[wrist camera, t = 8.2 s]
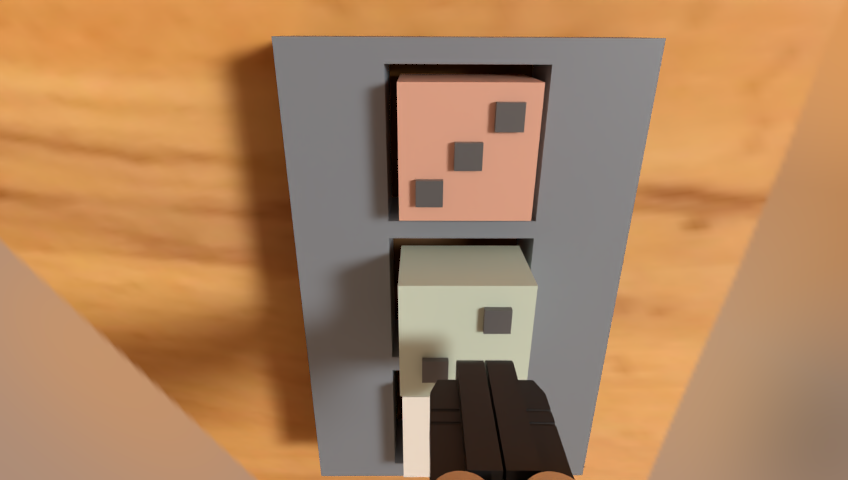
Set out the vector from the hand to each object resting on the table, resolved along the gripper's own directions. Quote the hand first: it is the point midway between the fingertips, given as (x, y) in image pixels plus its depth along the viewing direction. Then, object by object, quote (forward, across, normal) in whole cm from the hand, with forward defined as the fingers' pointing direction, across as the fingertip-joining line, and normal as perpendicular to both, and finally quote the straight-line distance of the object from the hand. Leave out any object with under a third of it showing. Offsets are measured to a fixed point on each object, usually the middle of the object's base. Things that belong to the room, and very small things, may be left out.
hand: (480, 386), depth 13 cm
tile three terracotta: (+6, 0, -6) cm, 8 cm away
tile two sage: (+4, 0, 0) cm, 5 cm away
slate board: (+7, 0, 0) cm, 7 cm away
